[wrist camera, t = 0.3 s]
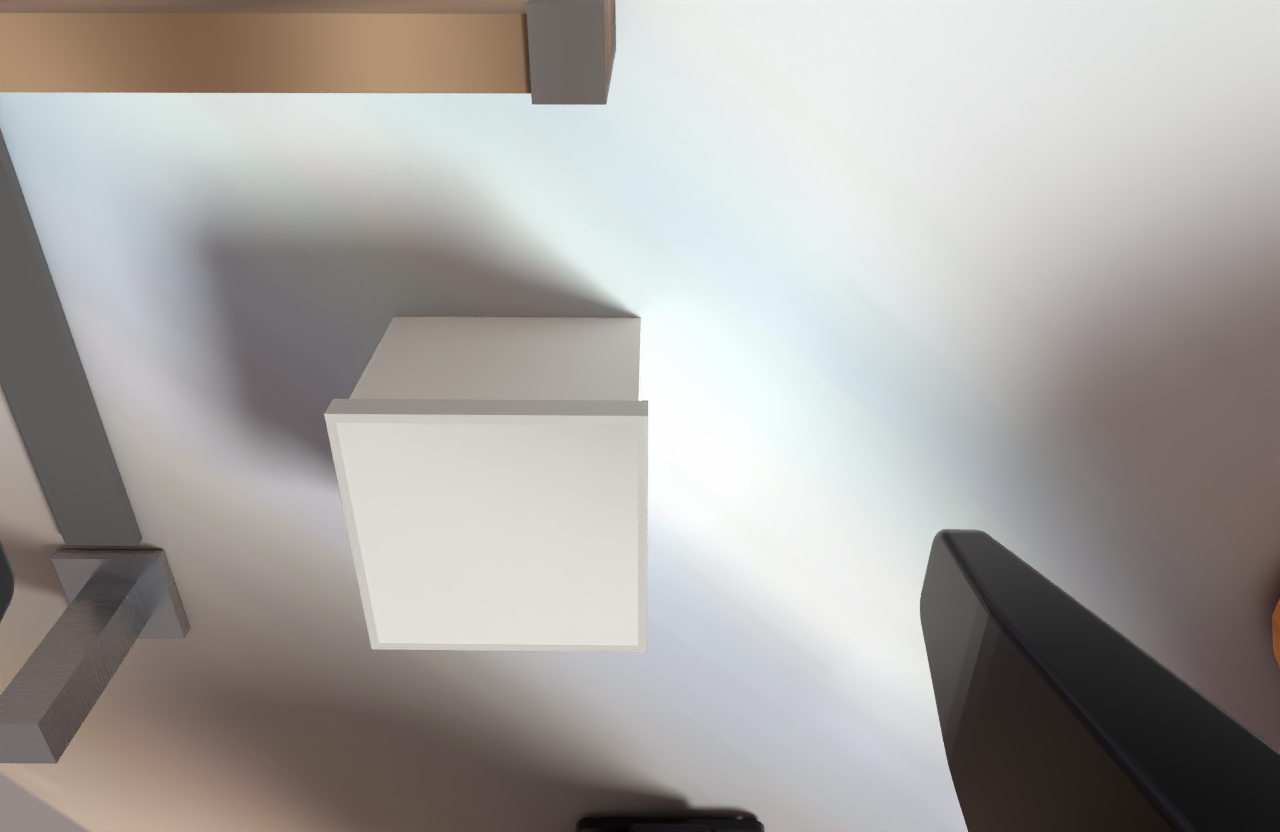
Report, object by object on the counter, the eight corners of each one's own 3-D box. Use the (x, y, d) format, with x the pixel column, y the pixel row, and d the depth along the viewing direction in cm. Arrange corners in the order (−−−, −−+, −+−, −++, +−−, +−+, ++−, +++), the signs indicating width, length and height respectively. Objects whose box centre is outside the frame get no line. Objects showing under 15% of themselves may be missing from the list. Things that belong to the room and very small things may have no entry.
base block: (648, 519, 26) (646, 651, 22) (417, 517, 26) (371, 649, 22) (649, 308, 23) (648, 416, 19) (385, 307, 23) (324, 413, 19)
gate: (-25, 48, 19) (-196, 103, 16) (-53, -32, 19) (-241, 3, 15) (615, 49, 19) (605, 104, 15) (614, -32, 19) (604, 4, 15)
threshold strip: (142, 538, 27) (137, 545, 26) (71, 538, 27) (65, 545, 27) (-16, 80, 20) (-25, 84, 20) (-110, 81, 20) (-120, 84, 20)
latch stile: (189, 628, 29) (98, 785, 24) (90, 627, 29) (-21, 783, 24) (163, 550, 27) (60, 701, 22) (58, 549, 27) (-68, 699, 22)
